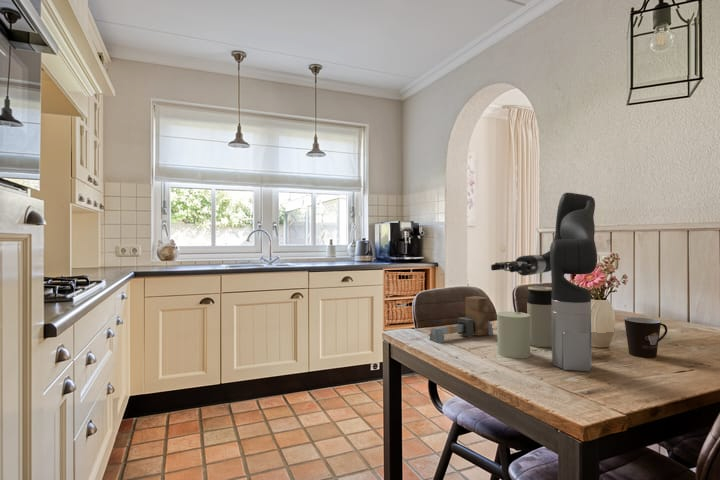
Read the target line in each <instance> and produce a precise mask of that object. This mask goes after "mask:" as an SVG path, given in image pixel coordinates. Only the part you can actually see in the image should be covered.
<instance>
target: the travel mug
mask: <svg viewBox="0 0 720 480" xmlns="http://www.w3.org/2000/svg"><path fill="white" fill-rule="evenodd" d="M527 289H528V291H529V292H528V293H529V294H527V297H526V307H527V308H526V312H527V314H529V315H530V346H531V347H536V348H542V349H543V348H544V349H545V348H546V349H548V348H549V349H550V348H552V286H551V287H550V286H540V285H539V286H528V287H527Z"/></svg>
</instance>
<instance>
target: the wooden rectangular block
mask: <svg viewBox="0 0 720 480" xmlns="http://www.w3.org/2000/svg"><path fill="white" fill-rule="evenodd" d="M464 301H465V303H464V307H465V316H464V318H468V319H473V322H475V330H473V336H474V335H475V336H485V335H486V334H489V297H483V296H478V295H474V296H473V295H472V296H465V298H464Z"/></svg>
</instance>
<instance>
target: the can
mask: <svg viewBox="0 0 720 480" xmlns="http://www.w3.org/2000/svg"><path fill="white" fill-rule="evenodd" d="M496 320H497V323H496V324H497V330H496V331H497V348H496V353H497V354H498V355H500V356H502V357H505V358H511V359H526V358H530V357H531V356H532V353H531V345H530V315H529V314H527V313H525V312H519V311H499V312H497V313H496Z"/></svg>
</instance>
